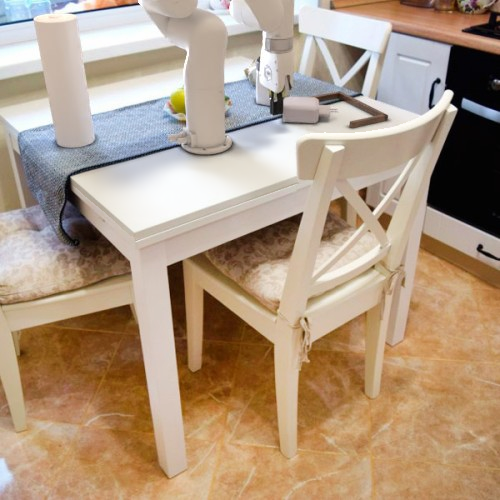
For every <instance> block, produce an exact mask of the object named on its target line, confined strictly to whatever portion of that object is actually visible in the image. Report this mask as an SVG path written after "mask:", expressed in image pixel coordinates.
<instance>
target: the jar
mask: <svg viewBox="0 0 500 500" xmlns="http://www.w3.org/2000/svg"><path fill="white" fill-rule="evenodd" d="M259 57H260V56H259ZM260 58H261V57H260ZM260 58H258V57H257V58H256V59H257V60H256V87H255V101H256V105H261V106H262V105H263V106H268V107H270V98H269V91H268V89H267V88H266V87H265V86H263V85H262V84H261V83H260V80H259V75H260Z"/></svg>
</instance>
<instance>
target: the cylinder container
mask: <svg viewBox="0 0 500 500" xmlns="http://www.w3.org/2000/svg"><path fill="white" fill-rule="evenodd" d="M33 24H34V29H35V34H36V40H37V45H38V50H39V56H40V61H41V67H42V73H43V77H44V82H45V87H46V93H47V98H48V103H49V110H50V114H51V115H50V116H51V120H52V124H53V130H54V134H55V141H56V144H57V145H58V146H60V147H61V148H70V149H71V148H72V149H73V148H81V147H86V146H88V145H90V144H92V143H94V142H95V140H96V135H95V130H94V129H95V128H94V122H93V117H92V111H91V109H92V108H91V103H90V97H89V88H88V83H87V76H86V75H87V74H86V69H85V68H86V67H85V63H84V55H83V48H82V43H81V34H80V28H79V23H78V16H77V15H76V14H73V13H67V12H54V13H53V12H52V13H45V14H44V13H43V14H39V15H37V16H35V17H33Z"/></svg>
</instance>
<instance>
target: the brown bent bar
mask: <svg viewBox="0 0 500 500" xmlns="http://www.w3.org/2000/svg"><path fill="white" fill-rule="evenodd" d="M311 97H315V98H317V99H318V100H319V102H324V101H328V100H329V101H330V100H334V99H340V100H342V101H344V102H345V103H347V104H350V105H352V106H354V107H355V108H357V109H360V110H362V111H364V112H365V113H368V114H369V115H372V116H368V117H364V118H359V119H354V120H349V128H351V129H354V128H358V127H363V126H367V125H372V124H378V123H381V122H382V123H383V122H386V121H388V120H389V119H388V118H389V114H387V113H385V112H383V111H381V110H379V109H377V108H375V107H373V106H371V105H368V104H367V103H366V102H365V103H364V102H362V101H361V100H359V99H357V98H355V97H353V96H351V95H348V94H346V93H345V92H343V91H340V90H339V91H334V92H328V93H323V94H317V95H311Z"/></svg>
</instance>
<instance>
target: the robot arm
mask: <svg viewBox="0 0 500 500" xmlns="http://www.w3.org/2000/svg"><path fill="white" fill-rule="evenodd" d="M137 1H138V3H139V5H140V6H141V8H142V9H143V11H144V12H145V14H146V15H147V16H148V18H150V20H151V21H152V22H153V24H154V25H155V27H156V28H157V29H158V31H159V32H160V33H161V35H163V36H164V38H165V39H166V40H167V41H168V42H169V43H170V44H172V45H174V46H175V47H177V48H180V49H182V50H185V51H186V53H187V54H186V59H185V61H184V66H183V84H184V85H183V89H184V91H183V92H184V107H185V126H182V131H179V132H178V133H171V134H168V135H167V140H168V142H169V143H170V144H172V143H177V145H180V146H181V148H182V149H183V150H185V151H186V152H188V153H191V154H196V155H215V154H220V153H223V152H225V151H227V150H228V149H230V148H231V146H232V143H233V142H232V138H231V136H230V135H229V134H226V95H225V94H226V93H225V92H226V90H225V88H226V87H225V63H226V62H225V61H226V53H227V48H228V41H229V36H228V35H229V32H228V27H227V25H226V23H225V22H224V21H223V19H222V18H220V16H218V15H216V14H215V13H213V12H211V11H209V10H205V9H202V8H198V3H199V0H137ZM229 13H230V16H231V18H232V19H233V20H234V21H235V22H236V23H238V24H240V25H242V26H246V27H249V28H252V29H255V30H258V31H260V32H262V46H261V52H260V56H261V58H260V75H259V80H260V83H261V84H262V85H263V86H265V87H266V88H267V89H268V91H269V98H270V106H269V114H270V115H272V116H279V115H283V102H284V99H285V98H287V97H291V95H290V91H292V90H293V87H294V80H295V79H294V78H295V77H294V76H295V75H294V55H293V54H294V53H293V49H294V27H295V25H294V23H295V22H294V21H295V0H231V1H230V4H229Z"/></svg>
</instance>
